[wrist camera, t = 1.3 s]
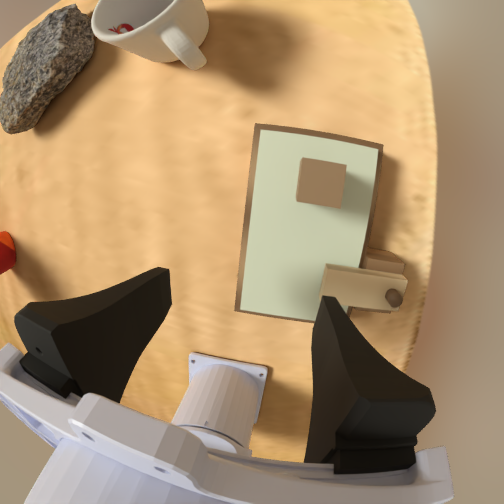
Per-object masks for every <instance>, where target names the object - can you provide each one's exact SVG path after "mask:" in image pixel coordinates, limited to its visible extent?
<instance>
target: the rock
mask: <svg viewBox="0 0 504 504" xmlns="http://www.w3.org/2000/svg"><path fill="white" fill-rule="evenodd" d="M91 20H92V19H91V18H89V17H88V16H87V15H86V14H83V13H81V11H80V10H79V9H78V8H77V6H76V4H73V5H69V6H66V7H64V8H62V9H59V10H55V11H54V12H53V13H50V14H48V15H47V16H46V17H45V19H44V20H43V21H42V22H40V23H39V24H38V25H37V26H35V27H34V28H32V29H31V30H30V31H29V32H28V33H27V36H26V37H25V38H24V39H23V40H21V41H20V42H19V45H18V48H17V50H16V52H15V54H14V56H13V57H12V59H11V62H10V63H9V64H8V66H7V68H6V71H5V73H4V77H3V80H2V82H3V88H4V89H3V92H2V94H1V95H0V96H1V97H0V122H1V124H2V127H3V129H4V131H5V132H7V133H9V134H15V133H20V132H24V131H28V130H29V129H31V128H33V127H34V126H35V125H36V124H37V123H38V121H39V119H40V117H41V116H42V114H43V112H44V110H45V109H46V108H47V106H48V105H49V103H50V101H51V100H52V99H53V98H55V95H56V94H58V93H60V92H62V91H63V90H64V88H65V87H66V86H67V85H68V84H69V83H70V82H71V81H72V79H73V77H74V76H75V74H76V73H78V72H80V71H82V68H83V66H84V65H85V63H86V62H87V61H88V60H89V59H90V58H91V57H92V53H93V51H94V39H93V37H94V33H93V30H92V27H91Z"/></svg>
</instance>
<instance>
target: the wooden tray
mask: <svg viewBox="0 0 504 504" xmlns="http://www.w3.org/2000/svg"><path fill="white" fill-rule="evenodd" d="M261 130H269V131H278V132H286V133H294V134H301V135H308V136H314V137H320V138H326V139H332V140H337V141H342V142H347V143H352V144H357V145H362V146H366V147H370V148H375V149H378V158H377V166H376V174H375V182H374V189H373V195H372V201H371V208H370V213H369V219H368V224H367V230H366V235H365V240H364V245H363V249H362V254H361V258H360V263H359V267H358V268H361V269H368V270H375V271H381V272H388V273H395V274H403V270H404V266H405V264H404V263H403V262H402V261H401V260H400V259H398V258H397V257H396V256H395V255H394V254H393V253H391V252H390V251H384V250H378V249H372V248H367V247H368V242H369V237H370V233H371V227H372V222H373V217H374V211H375V205H376V199H377V192H378V186H379V179H380V171H381V163H382V154H383V145H382V144H378V143H374V142H370V141H365V140H361V139H357V138H352V137H347V136H342V135H337V134H331V133H326V132H320V131H314V130H307V129H301V128H293V127H285V126H277V125H268V124H257V123H255V127H254V136H253V144H252V153H251V161H250V170H249V178H248V187H247V196H246V205H245V214H244V223H243V232H242V242H241V251H240V261H239V270H238V280H237V290H236V300H235V310H234V311H237V312H243V313H249V314H255V315H261V316H267V317H273V318H280V319H287V320H294V321H301V322H309V323H315V321H312V320H305V319H297V318H290V317H283V316H277V315H270V314H264V313H258V312H252V311H246V310H240V306H241V297H242V288H243V279H244V270H245V261H246V252H247V243H248V234H249V225H250V217H251V208H252V199H253V191H254V182H255V173H256V165H257V156H258V148H259V140H260V131H261ZM352 307H353V306H348V310H347V313H346V314H347V315H348V317H350V314H351V311H352ZM354 308H355V310H362V311H371V312H381V313H391V311H389V310H380V309H371V308H362V307H354Z"/></svg>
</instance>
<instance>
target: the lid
mask: <svg viewBox="0 0 504 504" xmlns="http://www.w3.org/2000/svg"><path fill="white" fill-rule="evenodd" d="M377 158H378V149H375V148H370V147H366V146H362V145H357V144H352V143H347V142H342V141H337V140H332V139H326V138H320V137H314V136H308V135H301V134H294V133H286V132H278V131H269V130H261V131H260V140H259V148H258V156H257V165H256V173H255V182H254V191H253V199H252V208H251V217H250V225H249V234H248V243H247V252H246V261H245V270H244V279H243V288H242V297H241V306H240V310H246V311H252V312H258V313H264V314H270V315H277V316H283V317H290V318H297V319H305V320H312V321H315V320H316V316H317V313H318V309H319V306H320V299H319V291H320V287H321V282H322V278H323V273H324V268H325V263H328V264H335V265H341V266H348V267H355V268H358V267H359V263H360V258H361V254H362V249H363V245H364V240H365V235H366V230H367V224H368V219H369V213H370V208H371V201H372V195H373V189H374V182H375V174H376V166H377ZM341 306H342V308H343V309H344V311H345V312H346V313H347V310H348V306H345V305H341Z"/></svg>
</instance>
